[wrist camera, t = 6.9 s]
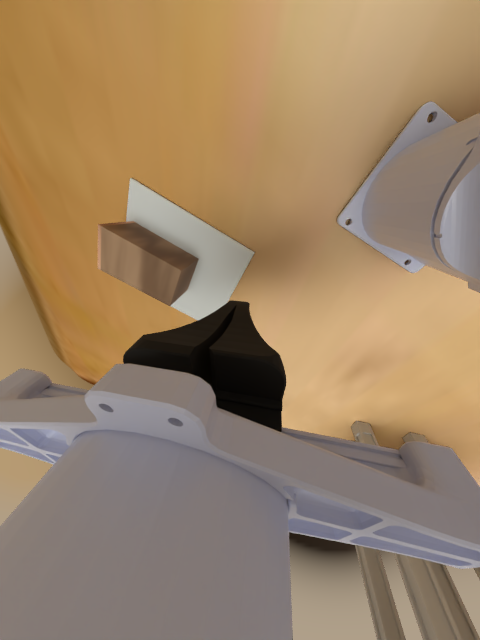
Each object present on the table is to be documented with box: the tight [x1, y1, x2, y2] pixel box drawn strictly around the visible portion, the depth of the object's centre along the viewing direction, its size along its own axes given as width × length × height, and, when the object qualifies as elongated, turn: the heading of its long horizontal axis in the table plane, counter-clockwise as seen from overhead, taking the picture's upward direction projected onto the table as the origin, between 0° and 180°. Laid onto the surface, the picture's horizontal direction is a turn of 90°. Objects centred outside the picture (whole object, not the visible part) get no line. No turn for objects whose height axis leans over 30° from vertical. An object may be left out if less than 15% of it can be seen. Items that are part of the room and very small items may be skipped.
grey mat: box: [126, 178, 255, 320], centre depth 21 cm, size 14×12×1 cm
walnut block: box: [98, 221, 199, 306], centre depth 19 cm, size 4×4×8 cm
